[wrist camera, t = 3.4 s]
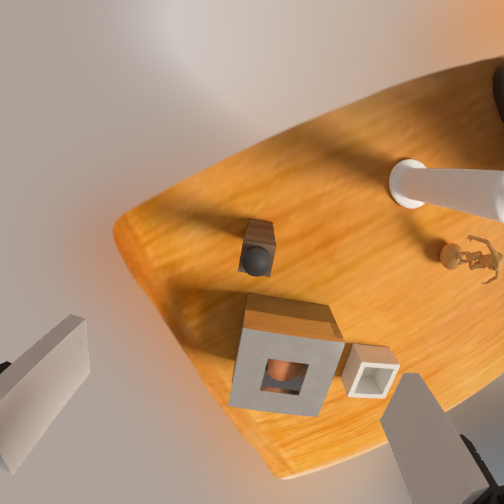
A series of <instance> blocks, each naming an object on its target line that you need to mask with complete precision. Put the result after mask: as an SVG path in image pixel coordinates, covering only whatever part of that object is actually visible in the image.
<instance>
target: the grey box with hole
mask: <svg viewBox="0 0 504 504" xmlns="http://www.w3.org/2000/svg"><path fill="white" fill-rule="evenodd" d="M344 345H345V341H344V339H343V336H342V334H341V332H340V330H339V328H338V325H337V323H336V321H335V319H334V317H333V314H332V312H331V310H330V308H329V306H326V305H320V304H313V303H307V302H301V301H295V300H289V299H283V298H277V297H271V296H265V295H260V294H254V293H248V295H247V300H246V306H245V311H244V316H243V322H242V327H241V332H240V338H239V343H238V348H237V354H236V359H235V365H234V371H233V378H232V387H231V392H230V398H229V403H228V406H233V407H239V408H245V409H252V410H259V411H266V412H274V413H282V414H292V415H302V416H314V417H317V416H318V414H319V412H320V409H321V407H322V404H323V402H324V399H325V397H326V394H327V392H328V389H329V387H330V384H331V381H332V379H333V376H334V373H335V371H336V368H337V365H338V362H339V360H340V357H341V354H342V351H343V348H344ZM268 359H275V360H282V361H289V362H296V363H299V371H298V373H297V375H296V376H295V377H294V378H292V379H290V380H287V381H278V380H275V379H273V378H272V377H271V376H270V375H269V374H268V370H267V360H268Z"/></svg>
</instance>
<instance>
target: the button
mask: <svg viewBox="0 0 504 504" xmlns="http://www.w3.org/2000/svg"><path fill="white" fill-rule="evenodd" d="M267 370H268V374H269V375H270V376H271V377H272V378H273V379H275V380H278V381H287V380H290V379H292V378H294V377H295V376H296V375H297V373H298V371H299V363H296V362H289V361H282V360H275V359H268V360H267Z"/></svg>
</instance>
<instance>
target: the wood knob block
mask: <svg viewBox="0 0 504 504" xmlns="http://www.w3.org/2000/svg"><path fill="white" fill-rule="evenodd" d="M275 249H276V242H275V236H274V230H273V223H272V222H268V221H263V220H257V219H252V218H250V221H249V224H248V227H247V230H246V233H245V237H244V240H243V245H242V251H241V257H240V262H239V268H238V271H239V272H244V273H248V274H249V275H251V276H266V277H270V274H271V269H272V264H273V259H274V254H275Z"/></svg>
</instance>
